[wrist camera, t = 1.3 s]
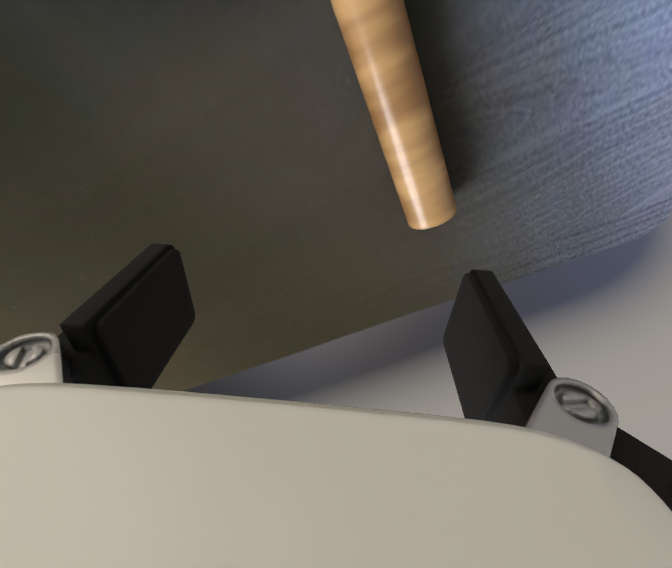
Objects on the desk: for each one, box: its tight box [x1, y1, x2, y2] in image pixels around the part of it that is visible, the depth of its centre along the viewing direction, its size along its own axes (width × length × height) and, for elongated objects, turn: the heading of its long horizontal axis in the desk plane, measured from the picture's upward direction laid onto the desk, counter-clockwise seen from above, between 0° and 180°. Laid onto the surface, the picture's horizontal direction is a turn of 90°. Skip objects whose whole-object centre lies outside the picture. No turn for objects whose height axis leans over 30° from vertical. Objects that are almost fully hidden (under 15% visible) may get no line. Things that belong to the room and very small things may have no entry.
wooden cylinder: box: [330, 0, 457, 229], centre depth 23 cm, size 16×4×4 cm, turn 24°
